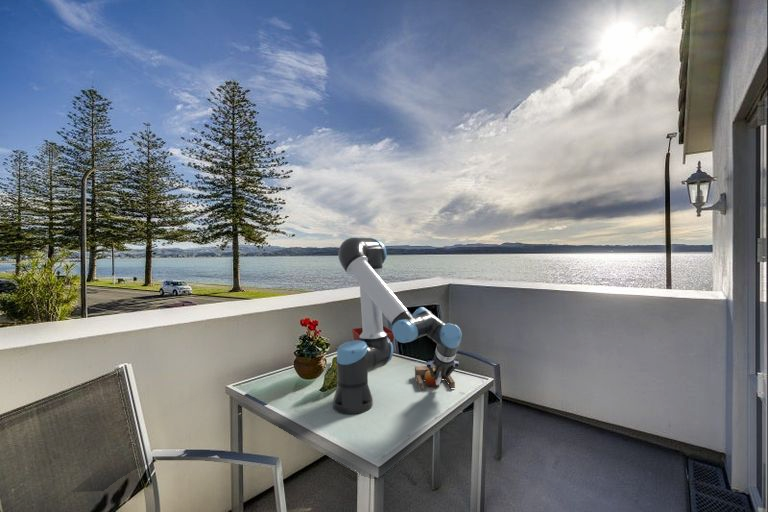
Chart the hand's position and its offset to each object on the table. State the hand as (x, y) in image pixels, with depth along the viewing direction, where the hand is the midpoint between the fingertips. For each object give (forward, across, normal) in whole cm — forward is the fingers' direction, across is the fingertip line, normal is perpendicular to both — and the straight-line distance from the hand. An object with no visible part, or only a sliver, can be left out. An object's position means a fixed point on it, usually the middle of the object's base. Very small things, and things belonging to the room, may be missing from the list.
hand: (437, 381), depth 140 cm
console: (+11, 0, +6) cm, 13 cm away
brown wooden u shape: (+6, 0, +1) cm, 6 cm away
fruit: (+6, -1, +1) cm, 6 cm away
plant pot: (+30, -27, +26) cm, 48 cm away
